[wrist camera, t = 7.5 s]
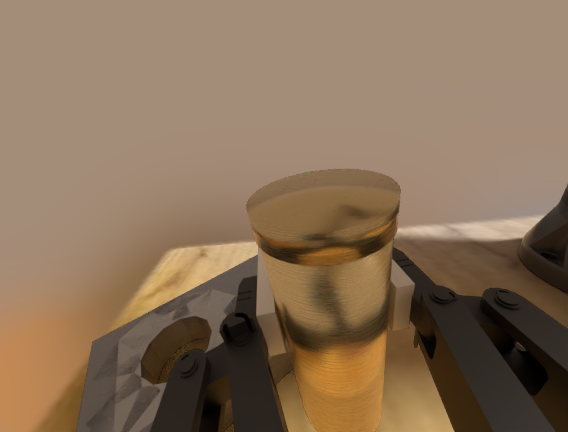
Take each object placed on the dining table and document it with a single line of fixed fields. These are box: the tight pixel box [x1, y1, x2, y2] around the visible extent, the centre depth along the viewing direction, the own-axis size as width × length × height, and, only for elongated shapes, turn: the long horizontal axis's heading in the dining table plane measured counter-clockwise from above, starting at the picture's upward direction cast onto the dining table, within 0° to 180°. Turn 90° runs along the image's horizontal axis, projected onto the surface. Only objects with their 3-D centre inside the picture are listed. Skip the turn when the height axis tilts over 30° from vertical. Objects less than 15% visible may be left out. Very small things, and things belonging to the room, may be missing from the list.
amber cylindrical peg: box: [246, 169, 401, 432], centre depth 11 cm, size 5×5×14 cm
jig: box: [76, 255, 293, 432], centre depth 24 cm, size 22×15×4 cm
